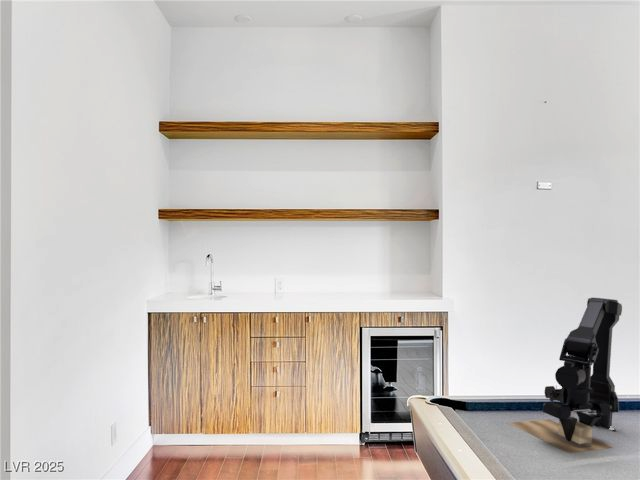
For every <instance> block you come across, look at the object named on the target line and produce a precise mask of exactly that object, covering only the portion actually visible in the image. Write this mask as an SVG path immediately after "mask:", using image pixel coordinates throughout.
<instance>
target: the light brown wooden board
mask: <svg viewBox="0 0 640 480" xmlns="http://www.w3.org/2000/svg"><path fill="white" fill-rule="evenodd" d="M508 424H510V425H511V426H513V427H515V428H517V429H519V430H522V431H523V432H526V433H527V434H530V435H532V436H534V437H536V438H537V439H539V440H542V441H544V442H546V443H548V444H549V445H551V446H554V447H556V448H558V449H559V450H562V451H564V452H566V453H568V454H570V453H571V454H572V453H579V452H588V451H596V450H599V451H600V450H606V449H614V447H613V446H611V445H608V444H607V443H604V442H602V441H599V440H598V439H595V438H594V437H592V444H591V446H589V447H580V448H579V447H577V446H574V445H572V444H570V443H568V442H566V441H564V440H562V439H559V438H558V427H559V422H556V421H554V420H551V419H542V420H541V419H539V420H538V419H537V420H528V421H515V422H508Z"/></svg>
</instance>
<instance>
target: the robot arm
mask: <svg viewBox="0 0 640 480" xmlns="http://www.w3.org/2000/svg"><path fill="white" fill-rule="evenodd" d="M586 303H587V304H586V308H585V311H584V313H583V314H582V318H581V321H580V322H579V324H578V327H576V328H575V329H573V330H571V331H570V332H569V334H568V335H567V337H566V338H565V339H564V341H563V345H562V348H561V351H560V356H559V358H558V359H559V361H561V362H562V361H563V366H562V365H561V366H560V367H559V368H557V370H556V371H555V374H554V376H555V377H554V378H555V380H556V383H557V384H558V385H559V386H560V387H561V388H557V389H556V388H555V386H554V385H551V386H549V385H548V386H547V385H546V386H544V387H545V388H544V396H545V399H549V401H545V402H544V403H543V404H542V413H544V414H546V415H549V416H551V417H554V418H556V419H558V421H559V420H560V422H561V424H562V427H563V431H564V434H565V437H566V440H567V441H571V439H572V436H573V432H574V429H575V426H576V422H577V421H578V422H580V423H583V424H585V425H588V426H590V427H592V428H593V426H594V427H601V428H604V429H606V430H608V429H609V428H610V426H612V425H613V424H612V422H613V421H612V420H613V413H619V412H620V403H619V398H618V395H617V392H616V385H615V383H614V382H613V380H612V378H611V376H610V372H611V357H612V356H611V355H612V340H613V339H612V338H613V328H614V327H615V325H617V324H618V322H619V321H620V316H622V312H623V305H622V303H619V301H618V300H617V299H611V298H604V297H603V298H602V297H589V298H587V302H586ZM574 413H576V415H577V416H578V418H576V417H574Z"/></svg>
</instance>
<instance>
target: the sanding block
mask: <svg viewBox="0 0 640 480" xmlns="http://www.w3.org/2000/svg"><path fill="white" fill-rule="evenodd" d="M558 424H559V427H558V438H559V439H562V440H564V441H566V442H568V443H570V444H572V445H574V446H577V447H579V448H580V447H589V446H591V444H592V438H593V427H590V426H588V425H585V424H583V423H580V422H579V420H577V422H576V426H575V429H574V432H573V436H572V439H571V441H567V440H566V437H565V434H564V431H563V427H562V424H561V422H560V420H559V419H558Z"/></svg>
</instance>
